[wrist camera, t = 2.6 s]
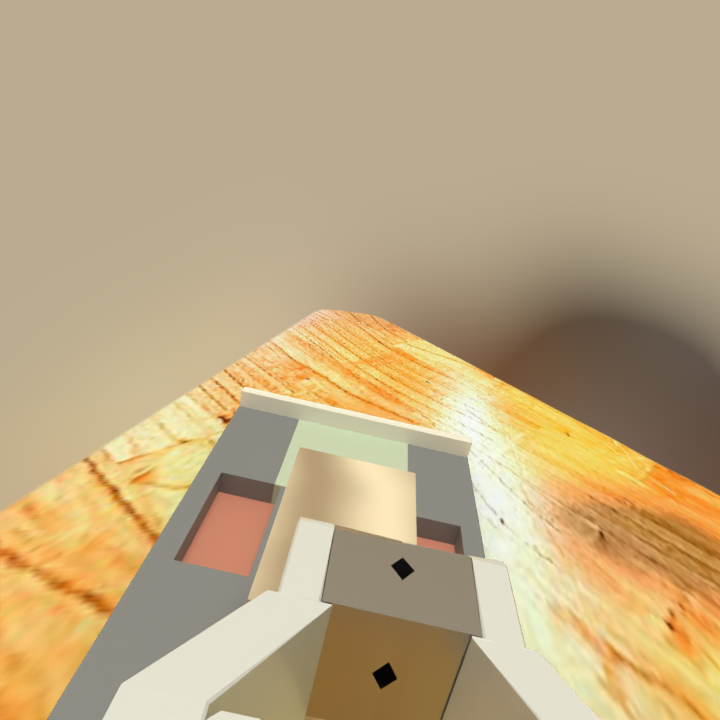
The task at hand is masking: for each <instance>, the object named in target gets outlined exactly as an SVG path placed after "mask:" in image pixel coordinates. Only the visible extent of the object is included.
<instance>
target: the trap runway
mask: <svg viewBox="0 0 720 720" xmlns="http://www.w3.org/2000/svg"><path fill="white" fill-rule="evenodd" d="M471 444H472V441H471V438H469V437H464V436H460V435H456V434H451V433H447V432H442V431H438V430H433V429H429V428H425V427H420V426H416V425H411V424H407V423H403V422H398V421H394V420H389V419H385V418H381V417H376V416H372V415H367V414H363V413H358V412H354V411H350V410H345V409H341V408H336V407H332V406H328V405H323V404H319V403H314V402H310V401H306V400H301V399H297V398H292V397H288V396H283V395H279V394H275V393H270V392H266V391H261V390H257V389H253V388H248V387H244V388H243V390H242V393H241V399H240V406H239V408H238V409H237V411H236V412H235V414H234V416H233V417H232V419H231V421H230V422H229V424H228V425H227V427H226V429H225V430H224V432H223V434H222V435H221V437H220V438H219V440H218V442H217V443H216V445H215V447H214V448H213V450H212V451H211V453H210V455H209V456H208V458H207V460H206V461H205V463H204V464H203V466H202V468H201V469H200V471H199V473H198V474H197V476H196V477H195V479H194V481H193V482H192V484H191V486H190V487H189V489H188V490H187V492H186V494H185V495H184V497H183V499H182V500H181V502H180V503H179V505H178V507H177V508H176V510H175V512H174V513H173V515H172V517H171V518H170V520H169V521H168V523H167V525H166V526H165V528H164V530H163V531H162V533H161V534H160V536H159V538H158V539H157V541H156V543H155V544H154V546H153V547H152V549H151V551H150V552H149V554H148V556H147V557H146V559H145V560H144V562H143V564H142V565H141V567H140V569H139V570H138V572H137V573H136V575H135V577H134V578H133V580H132V582H131V583H130V585H129V586H128V588H127V590H126V591H125V593H124V595H123V596H122V598H121V599H120V601H119V603H118V604H117V606H116V608H115V609H114V611H113V612H112V614H111V616H110V617H109V619H108V621H107V622H106V624H105V626H104V627H103V629H102V630H101V632H100V634H99V635H98V637H97V639H96V640H95V642H94V643H93V645H92V647H91V648H90V650H89V652H88V653H87V655H86V656H85V658H84V660H83V661H82V663H81V665H80V666H79V668H78V669H77V671H76V673H75V674H74V676H73V678H72V679H71V681H70V682H69V684H68V686H67V687H66V689H65V691H64V692H63V694H62V695H61V697H60V699H59V700H58V702H57V704H56V705H55V707H54V708H53V710H52V712H51V713H50V715H49V717H48V718H47V720H102V719H103V717H104V716H105V714H106V712H107V710H108V708H109V706H110V704H111V702H112V700H113V699H114V697H115V695H116V693H117V691H118V689H119V687H120V685H121V684H122V683H123V682H125V681H126V680H128V679H130V678H131V677H133V676H134V675H136V674H137V673H139V672H140V671H142V670H144V669H145V668H147V667H148V666H150V665H151V664H153V663H154V662H156V661H158V660H159V659H161V658H162V657H164V656H165V655H167V654H168V653H170V652H172V651H173V650H175V649H176V648H178V647H179V646H181V645H182V644H184V643H186V642H187V641H189V640H190V639H192V638H193V637H195V636H196V635H198V634H200V633H201V632H203V631H204V630H206V629H207V628H209V627H210V626H212V625H214V624H215V623H217V622H218V621H220V620H221V619H223V618H224V617H226V616H228V615H229V614H231V613H232V612H234V611H235V610H237V609H238V608H240V607H242V606H243V605H245V604H246V603H247V599H248V596H249V593H250V590H251V587H252V585H253V582H254V579H255V576H256V573H257V570H258V567H259V564H260V561H261V558H262V556H263V553H264V550H265V547H266V544H267V541H268V538H269V535H270V532H271V529H272V526H273V524H274V521H275V518H276V515H277V512H278V509H279V506H280V503H281V500H282V497H283V495H284V492H285V489H286V486H287V483H288V480H289V477H290V474H291V471H292V468H293V466H294V463H295V460H296V457H297V454H298V451H299V448H300V447H302V448H307V449H311V450H315V451H320V452H324V453H329V454H333V455H338V456H342V457H346V458H351V459H355V460H360V461H364V462H368V463H373V464H377V465H382V466H386V467H391V468H395V469H399V470H404V471H408V472H413V473H415V474H416V527H417V545H418V546H423V547H428V548H432V549H437V550H442V551H446V552H451V553H456V554H461V555H465V556H469V555H470V556H475V557H480V558H485V554H484V548H483V542H482V537H481V531H480V526H479V520H478V514H477V509H476V503H475V498H474V492H473V486H472V481H471V475H470V469H469V464H468V458H467V457H468V454H469V451H470V448H471Z"/></svg>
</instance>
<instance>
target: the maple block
mask: <svg viewBox="0 0 720 720" xmlns="http://www.w3.org/2000/svg"><path fill="white" fill-rule="evenodd" d="M300 517H304V518H309V519H313V520H318V521H322V522H327V523H331V524H333V525H334V528H335V525H339V526H343V527H347V528H351V529H355V530H359V531H363V532H367V533H371V534H375V535H379V536H383V537H387V538H391V539H395V540H399V541H402V542H404V543H409V544H414V545H417V527H416V474H415V473H413V472H408V471H404V470H399V469H395V468H391V467H386V466H382V465H377V464H373V463H368V462H364V461H360V460H355V459H351V458H346V457H342V456H338V455H333V454H329V453H324V452H320V451H315V450H311V449H307V448H302V447H300V448H299V451H298V454H297V457H296V460H295V463H294V466H293V468H292V471H291V474H290V477H289V480H288V483H287V486H286V489H285V492H284V495H283V497H282V500H281V503H280V506H279V509H278V512H277V515H276V518H275V521H274V524H273V526H272V529H271V532H270V535H269V538H268V541H267V544H266V547H265V550H264V553H263V556H262V558H261V561H260V564H259V567H258V570H257V573H256V576H255V579H254V582H253V585H252V587H251V590H250V593H249V596H248V599H247V603H248V602H249V601H251V600H252V599H254V598H256V597H257V596H259V595H260V594H262V593H263V592H265V591H266V590H270V591H275V592H278V589H279V586H280V582H281V579H282V575H283V572H284V568H285V565H286V561H287V558H288V554H289V551H290V547H291V544H292V540H293V537H294V533H295V530H296V526H297V523H298V521H299V519H300ZM304 720H324V719H319V718H314V717H309V716H305V719H304Z"/></svg>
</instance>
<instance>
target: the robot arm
mask: <svg viewBox="0 0 720 720" xmlns="http://www.w3.org/2000/svg"><path fill="white" fill-rule="evenodd" d="M305 716H309V717H314V718H319V719H324V720H600V718H599V717H598V716H597V715H596V714H595V713H594V712H593V711H592V710H591V709H590V708H589V707H588V706H587V704H586V703H585V702H584V701H583V700H582V699H581V698H580V697H579V696H578V695H577V694H576V693H575V692H574V690H573V689H572V688H571V687H570V686H569V685H568V684H567V683H566V682H565V681H564V680H563V679H562V678H561V677H560V675H559V674H558V673H557V672H556V671H555V670H554V669H553V668H552V667H551V666H550V665H549V664H548V663H547V661H546V660H545V659H544V658H543V657H542V656H541V655H540V654H539V653H538V652H537V651H536V650H531V649H527V648H526V647H525V642H524V638H523V634H522V630H521V625H520V621H519V617H518V612H517V608H516V604H515V600H514V595H513V591H512V587H511V583H510V578H509V574H508V570H507V566H506V565H505V564H504V563H503V562H501V561H496V560H490V559H485V558H480V557H475V556H470V555H469V556H465V555H461V554H456V553H451V552H446V551H442V550H437V549H432V548H428V547H423V546H418V545H414V544H409V543H404V542H402V541H399V540H395V539H391V538H387V537H383V536H379V535H375V534H371V533H367V532H363V531H359V530H355V529H351V528H347V527H343V526H339V525H335V528H334V525H333V524H331V523H327V522H322V521H318V520H313V519H309V518H304V517H300V519H299V521H298V523H297V526H296V530H295V533H294V537H293V540H292V544H291V547H290V551H289V554H288V558H287V561H286V565H285V568H284V572H283V575H282V579H281V582H280V586H279V589H278V592H275V591H270V590H266V591H265V592H263V593H262V594H260V595H259V596H257V597H256V598H254V599H252V600H251V601H249V602H248V603H246V604H245V605H243V606H242V607H240V608H238V609H237V610H235V611H234V612H232V613H231V614H229V615H228V616H226V617H224V618H223V619H221V620H220V621H218V622H217V623H215V624H214V625H212V626H210V627H209V628H207V629H206V630H204V631H203V632H201V633H200V634H198V635H196V636H195V637H193V638H192V639H190V640H189V641H187V642H186V643H184V644H182V645H181V646H179V647H178V648H176V649H175V650H173V651H172V652H170V653H168V654H167V655H165V656H164V657H162V658H161V659H159V660H158V661H156V662H154V663H153V664H151V665H150V666H148V667H147V668H145V669H144V670H142V671H140V672H139V673H137V674H136V675H134V676H133V677H131V678H130V679H128V680H126V681H125V682H123V683H122V684H121V685H120V687H119V689H118V691H117V693H116V695H115V697H114V699H113V700H112V702H111V704H110V706H109V708H108V710H107V712H106V714H105V716H104V717H103V719H102V720H304V719H305Z"/></svg>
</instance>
